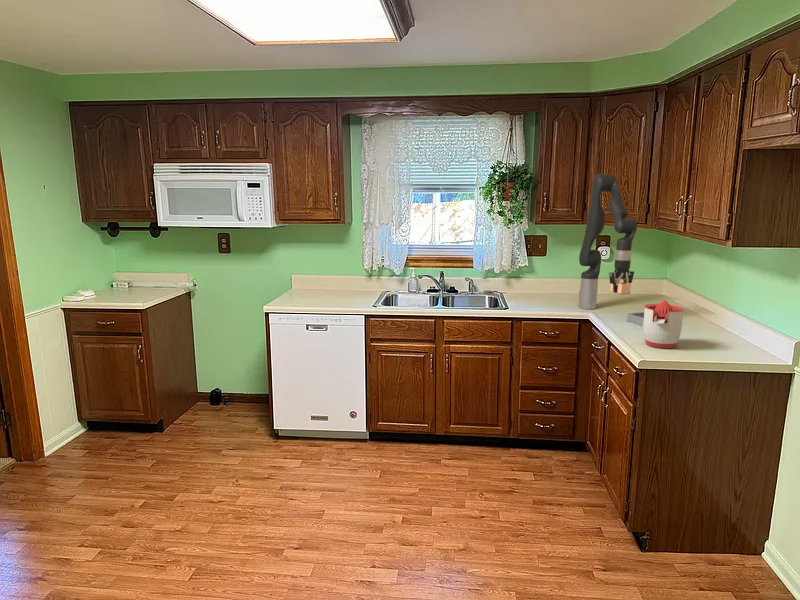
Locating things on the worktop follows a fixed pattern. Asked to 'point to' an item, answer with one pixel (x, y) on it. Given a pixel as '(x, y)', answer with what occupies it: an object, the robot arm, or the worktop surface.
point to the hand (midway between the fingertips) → (620, 291)
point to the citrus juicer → (662, 324)
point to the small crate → (622, 288)
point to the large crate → (636, 318)
